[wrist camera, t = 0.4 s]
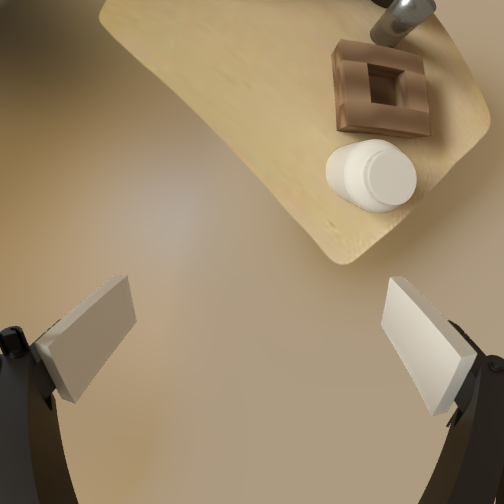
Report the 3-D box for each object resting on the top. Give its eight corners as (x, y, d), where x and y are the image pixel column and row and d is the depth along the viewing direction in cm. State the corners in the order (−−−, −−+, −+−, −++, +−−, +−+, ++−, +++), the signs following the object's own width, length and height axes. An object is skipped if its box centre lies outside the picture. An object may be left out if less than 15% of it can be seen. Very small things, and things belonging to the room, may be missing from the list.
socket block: (331, 55, 31) (340, 39, 26) (404, 67, 31) (421, 55, 25) (336, 130, 35) (348, 124, 29) (411, 138, 34) (430, 135, 28)
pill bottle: (312, 174, 37) (337, 179, 23) (348, 134, 35) (390, 117, 21) (352, 212, 38) (395, 238, 24) (386, 172, 36) (442, 178, 22)
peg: (368, 24, 29) (400, -19, 15) (392, 29, 29) (430, -9, 15) (372, 46, 30) (408, 6, 17) (397, 51, 30) (439, 16, 16)
